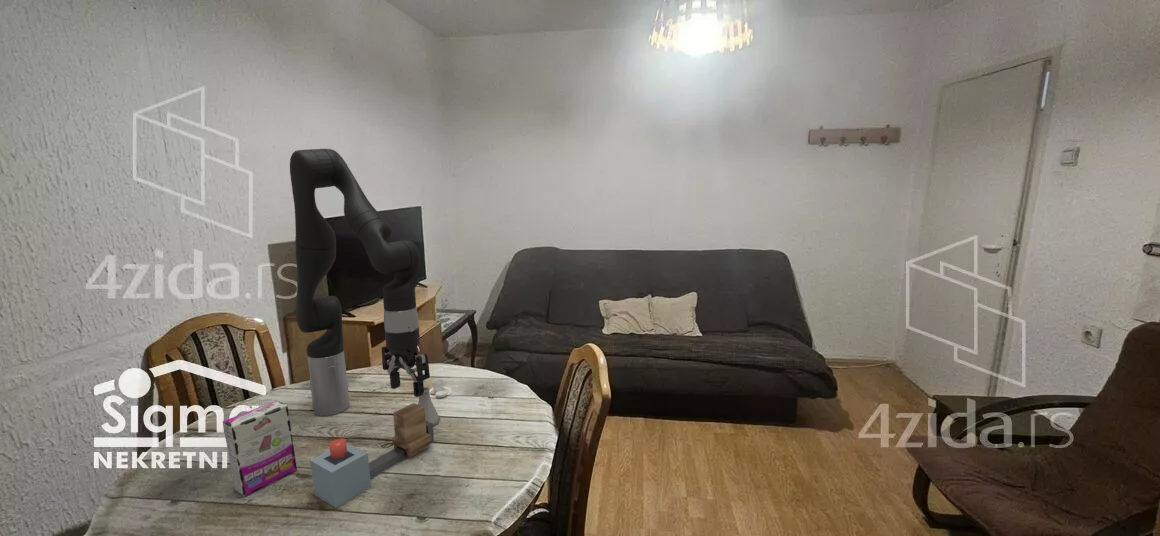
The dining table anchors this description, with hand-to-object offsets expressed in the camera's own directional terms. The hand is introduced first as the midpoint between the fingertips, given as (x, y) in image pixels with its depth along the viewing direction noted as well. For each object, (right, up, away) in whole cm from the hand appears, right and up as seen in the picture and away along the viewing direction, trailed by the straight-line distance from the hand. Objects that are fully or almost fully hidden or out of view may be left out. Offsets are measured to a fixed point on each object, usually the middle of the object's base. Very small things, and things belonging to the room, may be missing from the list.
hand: (407, 391), depth 114 cm
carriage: (0, -15, +3) cm, 16 cm away
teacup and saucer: (-4, -10, +33) cm, 35 cm away
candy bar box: (-28, -18, -8) cm, 35 cm away
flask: (-1, -13, +16) cm, 21 cm away
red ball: (-10, -10, -13) cm, 19 cm away
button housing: (-10, -18, -12) cm, 24 cm away
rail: (-3, -16, -1) cm, 16 cm away
